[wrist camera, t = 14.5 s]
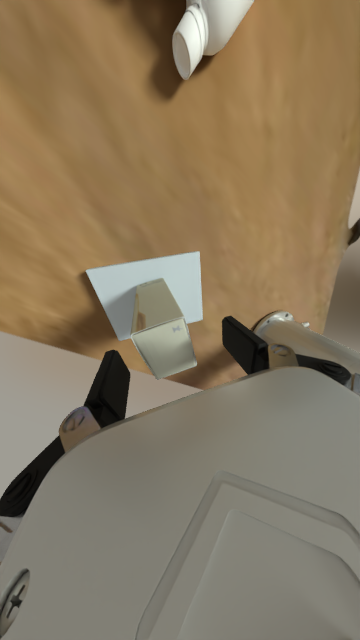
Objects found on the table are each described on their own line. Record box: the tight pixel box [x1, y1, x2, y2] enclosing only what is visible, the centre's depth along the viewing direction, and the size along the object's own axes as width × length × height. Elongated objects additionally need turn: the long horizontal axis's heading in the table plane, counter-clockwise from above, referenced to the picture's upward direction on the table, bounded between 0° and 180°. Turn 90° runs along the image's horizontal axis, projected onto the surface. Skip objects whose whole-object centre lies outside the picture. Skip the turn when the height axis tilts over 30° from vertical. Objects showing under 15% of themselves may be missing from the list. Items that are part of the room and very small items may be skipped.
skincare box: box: [130, 278, 197, 380], centre depth 16 cm, size 6×4×12 cm
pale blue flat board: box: [86, 251, 203, 341], centre depth 22 cm, size 16×12×3 cm
